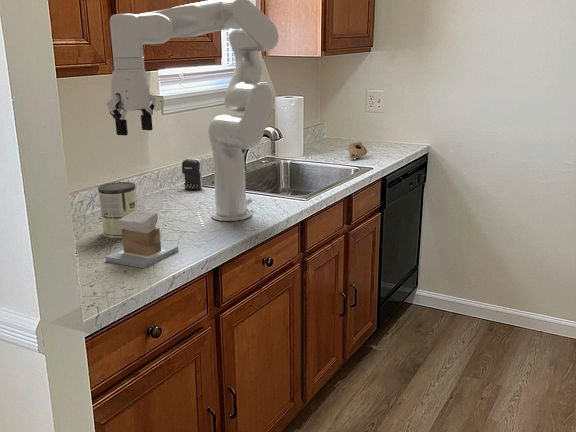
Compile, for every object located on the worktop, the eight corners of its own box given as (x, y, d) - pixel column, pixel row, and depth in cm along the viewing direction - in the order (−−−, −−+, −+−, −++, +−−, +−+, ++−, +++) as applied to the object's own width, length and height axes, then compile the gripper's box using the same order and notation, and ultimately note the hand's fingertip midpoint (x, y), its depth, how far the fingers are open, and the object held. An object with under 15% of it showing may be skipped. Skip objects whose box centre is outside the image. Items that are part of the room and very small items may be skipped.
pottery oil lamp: (342, 160, 276) (342, 145, 274) (351, 156, 287) (352, 141, 285) (360, 161, 272) (360, 146, 270) (369, 157, 283) (369, 142, 281)
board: (142, 244, 163) (142, 240, 163) (178, 250, 158) (178, 246, 158) (106, 261, 151) (105, 256, 151) (143, 268, 146) (142, 263, 146)
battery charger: (181, 190, 225) (179, 159, 222) (187, 187, 228) (185, 158, 225) (198, 191, 222) (196, 161, 219) (203, 189, 226) (201, 159, 222)
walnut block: (137, 246, 158) (135, 224, 157) (161, 250, 155) (159, 228, 153) (124, 252, 154) (121, 229, 153) (148, 256, 151) (146, 233, 149)
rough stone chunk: (124, 241, 154) (112, 222, 152) (139, 228, 159) (128, 210, 157) (149, 236, 149) (138, 216, 147) (165, 222, 153) (153, 203, 151)
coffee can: (108, 228, 179) (103, 182, 175) (142, 227, 179) (138, 181, 175) (98, 239, 169) (93, 190, 165) (135, 238, 169) (131, 189, 166)
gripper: (140, 64, 162) (145, 127, 166) (93, 66, 147) (100, 136, 151) (162, 63, 158) (167, 129, 163) (116, 66, 143) (123, 138, 148)
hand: (135, 132), depth 157 cm, fingers open, 9 cm apart
